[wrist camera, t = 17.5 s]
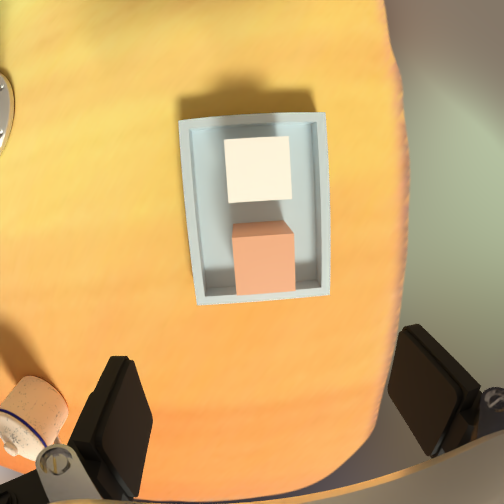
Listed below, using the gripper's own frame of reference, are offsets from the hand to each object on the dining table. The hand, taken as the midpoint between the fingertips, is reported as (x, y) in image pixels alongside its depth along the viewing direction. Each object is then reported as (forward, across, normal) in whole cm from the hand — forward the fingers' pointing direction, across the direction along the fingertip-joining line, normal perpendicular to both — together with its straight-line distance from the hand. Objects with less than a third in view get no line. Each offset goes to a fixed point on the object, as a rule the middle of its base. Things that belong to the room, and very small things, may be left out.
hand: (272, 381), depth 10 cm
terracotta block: (+19, -2, +1) cm, 19 cm away
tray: (+20, -2, -3) cm, 20 cm away
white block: (+20, -2, -6) cm, 20 cm away
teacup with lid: (+21, +30, +22) cm, 43 cm away
